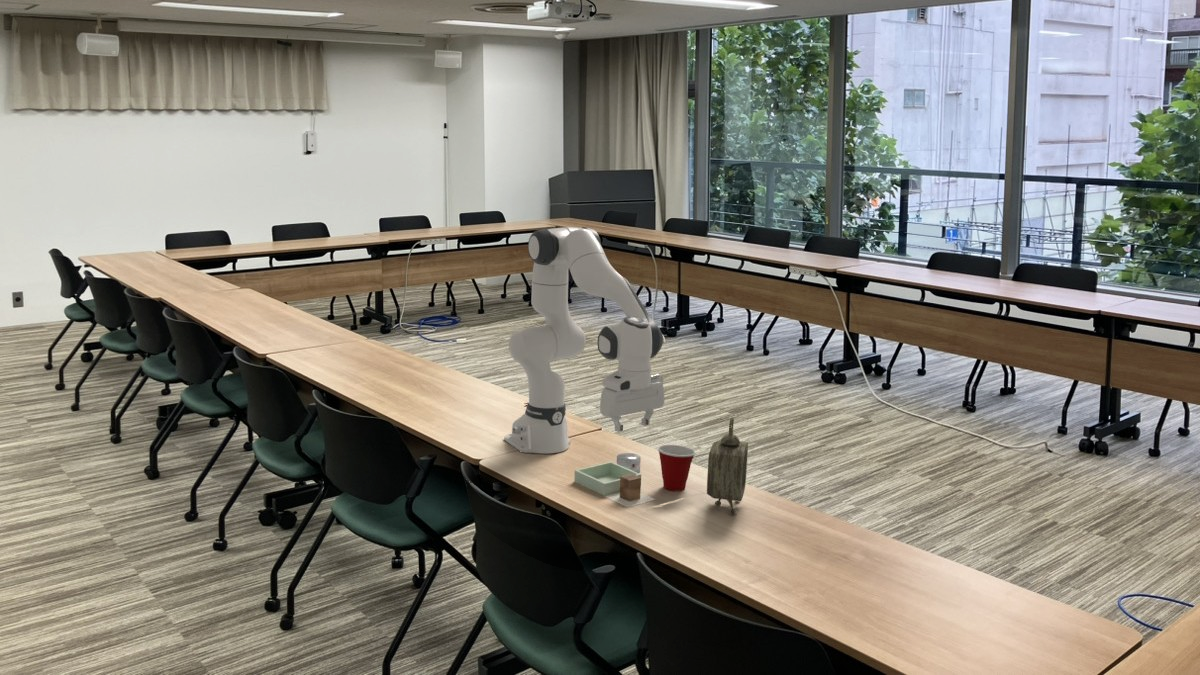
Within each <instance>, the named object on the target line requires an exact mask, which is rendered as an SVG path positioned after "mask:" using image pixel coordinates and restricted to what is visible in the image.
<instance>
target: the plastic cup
mask: <svg viewBox="0 0 1200 675" xmlns="http://www.w3.org/2000/svg"><path fill="white" fill-rule="evenodd" d="M657 451H658V454H659V460H660V466H661V468H660V470H661V477H662V483H663V488H664V489H665V490H668V491H672V492H679V491H684V490H685V489H686V486H687V481H688V478H689V473H690V470H691V469H690V468H691V465H692V462H693V459H694V457H695V455H696V454H697V452H696V450H695V449H694V448H691V447H688V446H683V445H678V444H664V445H663V444H662V445H658V447H657Z"/></svg>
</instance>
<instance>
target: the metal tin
mask: <svg viewBox="0 0 1200 675" xmlns="http://www.w3.org/2000/svg"><path fill="white" fill-rule="evenodd" d="M641 458H642V457H641V455H639V454H637V453H631V452H624V453H619V454H617V455H616V464H618V465H620V466H623V467H625V468H627V469H630V470H632V471H634V472H637V473H639V474H641Z"/></svg>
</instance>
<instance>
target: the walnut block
mask: <svg viewBox="0 0 1200 675" xmlns="http://www.w3.org/2000/svg"><path fill="white" fill-rule="evenodd" d="M641 486H642V476H641V477H638V476H636V475H634V474H628V475H624V476H620V498H623V499H625V500H627V501H633V500H636V499H640V493H641V488H642V487H641Z"/></svg>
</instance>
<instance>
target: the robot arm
mask: <svg viewBox="0 0 1200 675" xmlns="http://www.w3.org/2000/svg"><path fill="white" fill-rule="evenodd" d="M527 243H528V244H527V251H528V255H529V257H530V259H531V261H532V262H533V268H532V276H531V277H532V278H531V300H530V301H531V302H530V303H531V306H532V308H533V310H534V311H536V313H539V315H542V316H544V320H545V324H544V325H542V326H541V325H540V326H531V327H525V328H522V329H519V330H516V331H514V332H513V333H511V336H510V338H509V340H508V352H509V354H510V356H511V357H512V359H513V360H514V361H515V362H516V363H518V364H519V365H520V366H521V367H522V368H523V370H524V372H525V374H526V377H527V382H528V402H524V405H523V407H525V411H524V412H525V413H523V414H522V415H520V417H518V418H517V419H516V420H514V421H513V422H512V426H511V433H509V434H507V435H505V436H504V439H503V440H504V441H506V443H509V445H511V446H512V447H513V448H514V449H517V450H518V451H519V452H521V453H526V454H527V453H531V454H533V453H535V454H556V453H561V452H564V451H567V450H568V449H569V444H571V438H569V434H568V419H567V418H566V417H565V416H566V411H567V407H566V403H565V381H564V378H563V376H561V375H560V374H559V373H557V372H556V371H553V370H552V368H551V362H552V361H558V360H559V361H560V360H568V359H571V358H573V357H577V356H579V355H580V354H582V353H583V352H584V350H585V347H586V344H587V343H586V342H587V339H586V335H585V332H584V330H583V329H582V328H581V327H580V326H579V325H578V324H577V323H576V322H575V321H574V320H573V318H572V315H571V313H570V308H569V301H568V300H569V271H570V274H571V277H572V280H573V281H574V283H575V285H576V287H577V288H578V289H579V290H581V292H584V293H586V294H588V295H591V296H594V297H595V296H596V297H600V298H603V299H606V300H610V301H611V302H614V303H615V304H617V305H618V306H619V307H620V308H621V309H622V312H624V315H625V316H626V317H624V318H623V319H622V320H621V321H620V322H618V323H615V324H610V325H607V326H604V327H603V328H602V329H601V330H600V332H599V334H598V336H597V350H598V351H599V353H600V355H601V356H602V357H604V359H606V360H608V361H610V360H611V361H618V364H617V365H618V366H617V370H615V371H614V372H613V373H611V374H610V375H608V376H606V377H605V378H603V379H602V381H601V382H602V383H601V385H602V387H604V388H603V389H602V391H601V395H600V402H599V403H600V404H599V410H600V413H601V415H602V416H603V417H605V418H608V419H611V421H612V423H613V424H614V431H615V432H618V433H619V432H623V431H624V424H622V423H621V421H620V420H621V416H622V417H623V416H627V415H632V414H637V413H642V412H645V413H644V416H643V418H641V420H640V421H641V422H640V424H641V426H644V427H647V426H650V420H651V418H652V416H653V414H654V410H655V409H660V408H663V407H664V405H665V388H664V378H663V376H661V375H660V374H658V373H657V374H653V375H652V365H651V359H653V358H654V357H656V356H657V355H658V353H659V352H660V351H661V349H662V346H663V345H664V336H663V333H662V331H661V329H660V327H659V326H658V325H657V323H656V322H655V321H654V319H652V318H651V316H650V314H649V312H648V311H647V310H646V308H645V307H644V304H643V303H642V301H641V300H640V298H639V296H638V295H637V293H636V291H635V290H634V288H633V287H632V285H631V283H630V282H629V280H628V279H627V278H626V277H624V276H623V275H621V274H620V273H619V272H617V270H616V269H615V268H614V266H612V264H611V263H610V262H609V259H608V258H607V256H606V253H605V251H604V249H603V247H602V244H601V243H602V241H601V238H600V236H599V233H598V232H597V231H596V230H595V229H593V228H591V227H585V226H582V227H575V226H563V227H555V228H548V229H547V228H541V229H538V230H534V231H533V233H531V234H530V237H529V239H528V242H527Z"/></svg>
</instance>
